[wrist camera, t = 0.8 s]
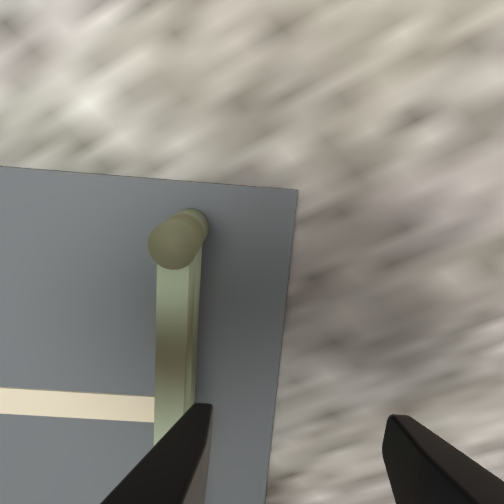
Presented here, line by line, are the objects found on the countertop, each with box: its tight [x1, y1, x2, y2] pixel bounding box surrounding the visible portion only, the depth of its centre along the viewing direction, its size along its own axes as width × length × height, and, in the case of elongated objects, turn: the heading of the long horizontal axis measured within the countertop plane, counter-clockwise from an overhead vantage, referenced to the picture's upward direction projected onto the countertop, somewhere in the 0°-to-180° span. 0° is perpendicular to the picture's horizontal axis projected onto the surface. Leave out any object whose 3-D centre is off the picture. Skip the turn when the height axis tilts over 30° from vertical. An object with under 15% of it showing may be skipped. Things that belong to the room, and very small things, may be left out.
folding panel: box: [148, 208, 209, 445], centre depth 16 cm, size 10×2×4 cm, turn 175°
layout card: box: [0, 166, 298, 504], centre depth 20 cm, size 25×19×1 cm
